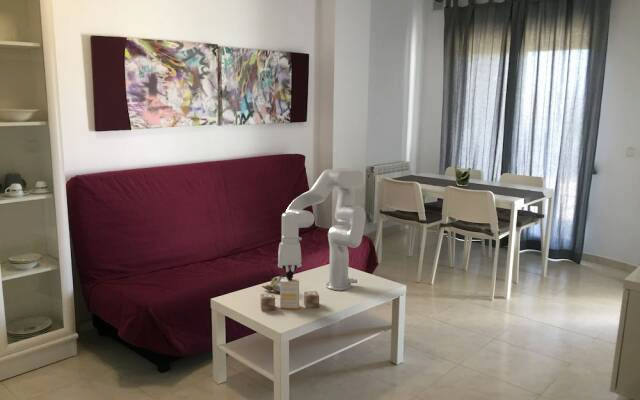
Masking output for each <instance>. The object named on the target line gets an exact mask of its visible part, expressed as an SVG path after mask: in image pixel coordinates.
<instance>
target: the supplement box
mask: <svg viewBox="0 0 640 400" xmlns="http://www.w3.org/2000/svg"><path fill="white" fill-rule="evenodd" d="M279 294H280V295H279V297H280V298H279V299H280V309H283V310H285V309H287V310H288V309H290V310H298V309H299V307H300V278H294V277H293V278H292V280H289V281H288V279H287V278H286V277H284V278H282V279H281V280H280V292H279Z"/></svg>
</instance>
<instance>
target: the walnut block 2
mask: <svg viewBox="0 0 640 400" xmlns="http://www.w3.org/2000/svg"><path fill="white" fill-rule="evenodd" d="M303 305H304V307H305V309H319V308H320V295H319V293H318V291H317V290H315V291H314V290H312V291H304V292H303Z"/></svg>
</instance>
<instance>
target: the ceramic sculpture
mask: <svg viewBox="0 0 640 400" xmlns="http://www.w3.org/2000/svg"><path fill="white" fill-rule="evenodd" d="M282 278H285V277H284V276H283V275H280V274H279V275H278V276H275V277H273V278H271V281H270V284H267V285H261V287H262V288H263V289H265V290H266V291H273V292H276V293H280V280H281V279H282Z"/></svg>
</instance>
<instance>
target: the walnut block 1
mask: <svg viewBox="0 0 640 400" xmlns="http://www.w3.org/2000/svg"><path fill="white" fill-rule="evenodd" d="M260 310H261V312H271V311H273V312H274V311H276V297H275V294H274V292H273V293H270V292H269V293H260Z"/></svg>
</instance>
